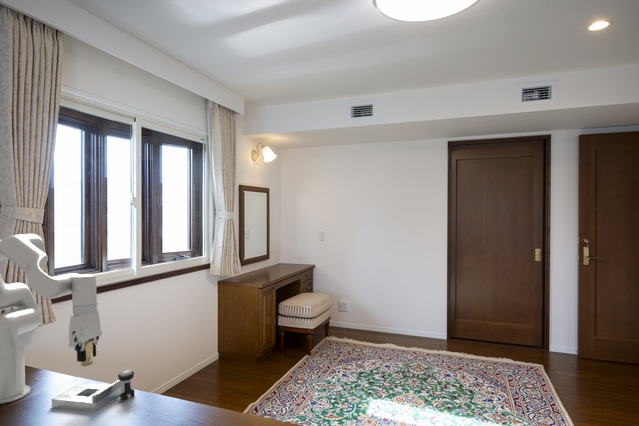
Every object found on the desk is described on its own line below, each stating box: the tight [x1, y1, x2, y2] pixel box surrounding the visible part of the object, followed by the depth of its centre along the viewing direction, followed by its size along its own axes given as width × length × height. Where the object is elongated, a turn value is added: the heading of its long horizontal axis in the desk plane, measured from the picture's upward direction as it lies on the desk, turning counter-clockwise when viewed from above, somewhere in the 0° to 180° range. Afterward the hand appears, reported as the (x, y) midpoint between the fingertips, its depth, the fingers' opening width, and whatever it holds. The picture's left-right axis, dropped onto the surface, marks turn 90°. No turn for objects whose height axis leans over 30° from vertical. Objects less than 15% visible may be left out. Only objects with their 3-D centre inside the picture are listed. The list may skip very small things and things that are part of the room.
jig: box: [51, 379, 121, 413], centre depth 138 cm, size 18×13×6 cm
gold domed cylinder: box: [79, 340, 95, 367], centre depth 138 cm, size 4×4×8 cm
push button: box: [116, 368, 136, 403], centre depth 138 cm, size 7×5×10 cm
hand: (86, 358), depth 138 cm, fingers closed on gold domed cylinder, 4 cm apart
